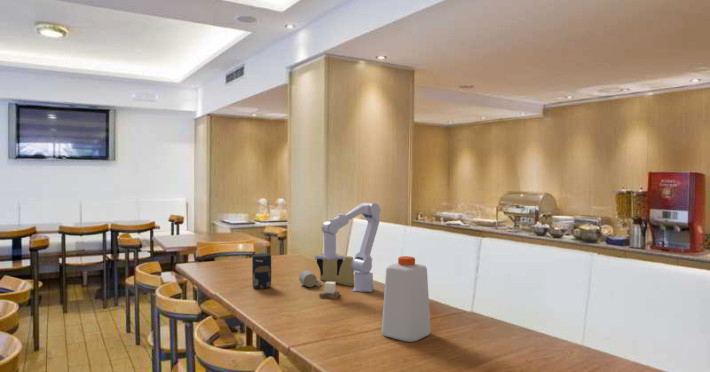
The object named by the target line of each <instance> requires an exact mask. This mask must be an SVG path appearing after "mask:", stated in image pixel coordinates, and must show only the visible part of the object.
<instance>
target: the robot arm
mask: <svg viewBox="0 0 710 372" xmlns="http://www.w3.org/2000/svg"><path fill="white" fill-rule="evenodd" d="M360 215H362V216H363V217H364V218H365V219H366V221H367V226H366V227H365V230H364V235H363V238H362V242H361V246H360V249H359V251H358V253H356V254H355V255H354V257H353V261H352V264H351V265H352V268H353V269H354V285H353V289H352V292H368V293H370V292H371V293H372V292H373V289H374V273H373V272H371V270H372V267H373V265H372V264H373V263H372V262H373V258H372V256H371V252H372V251H373V246H374V242H375V238H376V236H377V232H378V227H379V224H380V215H381V207H380V205H379V204H378V203H376V202H365V201H364V202H361V203H360V204H357V206H355V207H354V208H353V209H352V210H349V212H348V211H347V213H346V214H344V213H337V216H335V217H334V218H331V219H330V220H328V221H324V222H323V224H322V226H321V231H322V233H323V253H324V255H321V254H317V255H316V254H315V255H314V261H316V264H317V266H318V268H319V272H321V275H323V260H338V261H337V276H338V275H339V271H340V267H341V264H342V262H343V260H345V256H346V255H344V256H340V255H341V254H339V255H336V253H337V234H338V232H339V230H340V229H341V228H343V227H345V226H347V225H349V222H350V220H352V219H354V218H356V217H358V216H360ZM326 258H327V259H326ZM332 258H334V259H332Z"/></svg>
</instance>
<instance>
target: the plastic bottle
mask: <svg viewBox="0 0 710 372" xmlns="http://www.w3.org/2000/svg"><path fill="white" fill-rule="evenodd" d="M384 280H385V281H384V282H385V283H384V294H383V307H382V317H381V318H382V319H381V321H382V322H381V334H382V335H383V336H385V337H387V338H391V339H394V340H399V341H401V342H407V343H412V342H417V341H419V340H421V339H423V338H426V337H428V336H429V335H430V334H431V331H432V330H431V314H430V312H431V311H430V299H429V298H430V297H429V295H430V294H429V280H428V268H427V267H426V266H425V265H423V264H419V263H416V258H415V257H414V256H405V255H404V256H403V255H402V256H399V257H398V258H397V263H392V264H389V265H387V267H386V268H385V279H384Z"/></svg>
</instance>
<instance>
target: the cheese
mask: <svg viewBox="0 0 710 372" xmlns="http://www.w3.org/2000/svg"><path fill="white" fill-rule="evenodd" d="M320 255H324V252H323V253H321V254H320ZM336 255H340V256H345V260H343V262H342V264H341V267H340V271H339V275H338V276H337V261H338V260H323V275H321V272H320V271H319V272H320V273H319V275H320V276H319V279H320V281H325V282H336V284H340V285H345V286H347V287H348V286H349V287H354V269H353V268H352V265H351V264H352V261H353V259H354V257H353V256H349V255H343V254H339V253H337V252H336ZM326 259H327V258H326ZM332 259H334V258H332Z"/></svg>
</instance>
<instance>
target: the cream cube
mask: <svg viewBox="0 0 710 372" xmlns="http://www.w3.org/2000/svg"><path fill="white" fill-rule="evenodd" d="M336 284H337V283H336V282H329V281H325V283H324V290H325V293H335V290H336Z"/></svg>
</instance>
